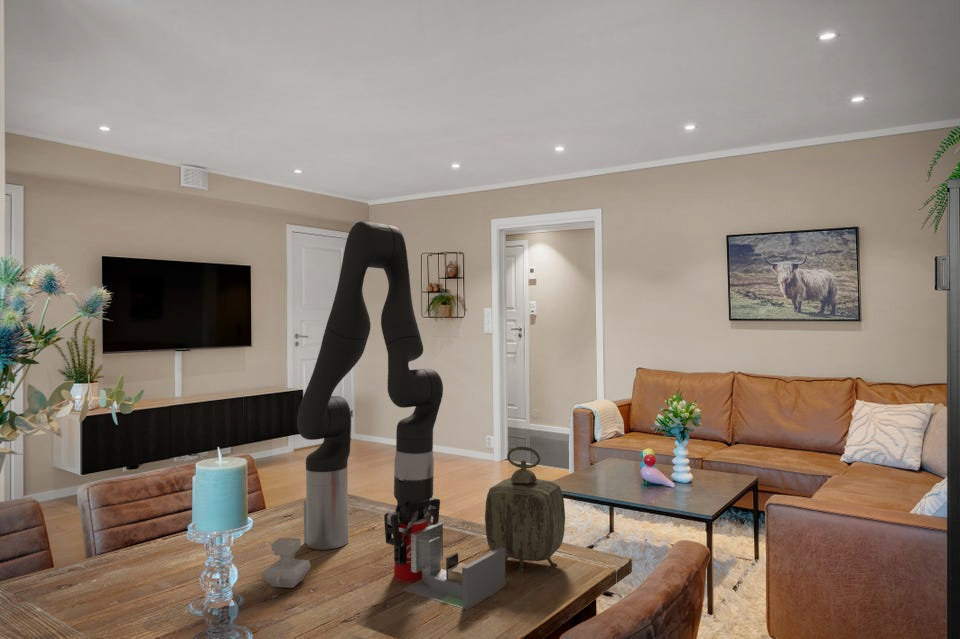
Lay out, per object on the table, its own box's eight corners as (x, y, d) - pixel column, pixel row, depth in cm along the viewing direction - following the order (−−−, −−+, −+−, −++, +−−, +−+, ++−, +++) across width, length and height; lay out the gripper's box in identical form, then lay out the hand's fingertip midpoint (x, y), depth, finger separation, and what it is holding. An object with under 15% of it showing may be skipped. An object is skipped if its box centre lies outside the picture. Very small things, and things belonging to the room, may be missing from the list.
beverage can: (420, 588, 123) (423, 525, 122) (389, 583, 124) (392, 521, 124) (430, 574, 129) (432, 514, 128) (400, 569, 130) (402, 510, 130)
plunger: (411, 586, 121) (410, 533, 121) (438, 572, 128) (437, 522, 128) (441, 594, 117) (440, 540, 117) (467, 579, 124) (466, 528, 124)
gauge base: (401, 596, 120) (400, 551, 120) (441, 574, 130) (441, 533, 130) (467, 616, 111) (466, 568, 111) (505, 591, 121) (505, 547, 121)
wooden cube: (448, 591, 119) (447, 569, 119) (461, 584, 122) (460, 562, 122) (465, 596, 116) (465, 574, 116) (478, 589, 120) (478, 567, 120)
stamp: (293, 595, 121) (292, 549, 121) (260, 593, 122) (259, 548, 122) (313, 576, 130) (313, 533, 130) (282, 574, 131) (281, 532, 131)
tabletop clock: (565, 569, 131) (564, 445, 131) (551, 586, 123) (549, 454, 123) (499, 559, 138) (498, 440, 138) (481, 574, 129) (480, 448, 129)
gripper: (423, 462, 134) (421, 543, 134) (373, 477, 122) (371, 566, 122) (452, 468, 129) (450, 552, 130) (403, 484, 118) (401, 576, 118)
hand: (412, 558), depth 126 cm, fingers closed on beverage can, 6 cm apart
